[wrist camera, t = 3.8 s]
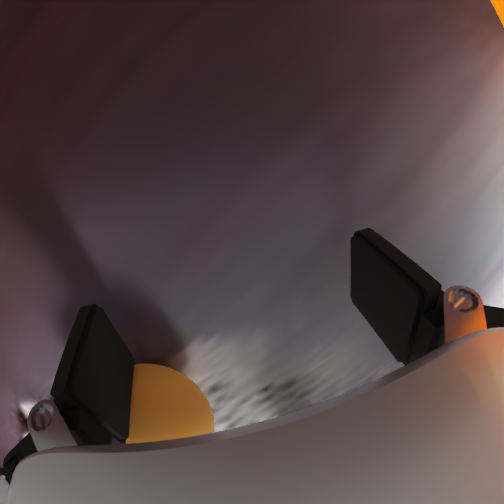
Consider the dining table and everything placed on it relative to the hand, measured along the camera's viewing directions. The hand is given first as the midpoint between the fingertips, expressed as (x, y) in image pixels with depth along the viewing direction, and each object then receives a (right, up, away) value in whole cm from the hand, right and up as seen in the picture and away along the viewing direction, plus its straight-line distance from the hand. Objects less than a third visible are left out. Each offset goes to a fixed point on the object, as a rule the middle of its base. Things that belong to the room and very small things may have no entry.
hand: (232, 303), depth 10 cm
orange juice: (+19, +20, -4) cm, 27 cm away
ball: (-4, -6, 0) cm, 7 cm away
